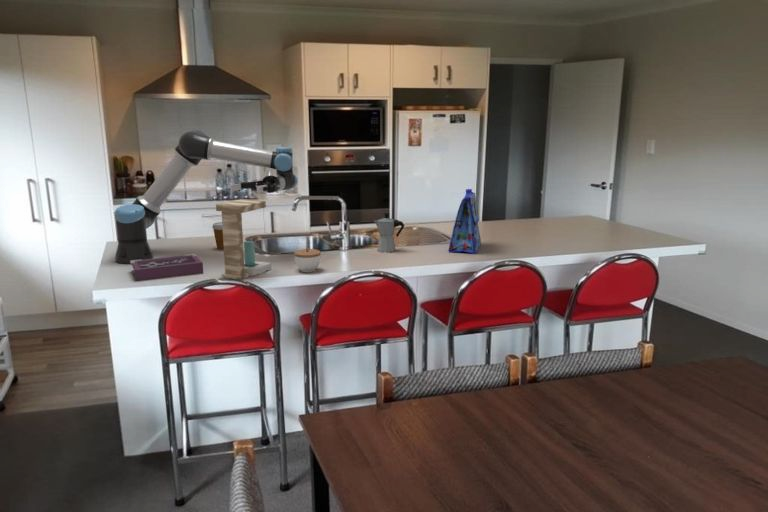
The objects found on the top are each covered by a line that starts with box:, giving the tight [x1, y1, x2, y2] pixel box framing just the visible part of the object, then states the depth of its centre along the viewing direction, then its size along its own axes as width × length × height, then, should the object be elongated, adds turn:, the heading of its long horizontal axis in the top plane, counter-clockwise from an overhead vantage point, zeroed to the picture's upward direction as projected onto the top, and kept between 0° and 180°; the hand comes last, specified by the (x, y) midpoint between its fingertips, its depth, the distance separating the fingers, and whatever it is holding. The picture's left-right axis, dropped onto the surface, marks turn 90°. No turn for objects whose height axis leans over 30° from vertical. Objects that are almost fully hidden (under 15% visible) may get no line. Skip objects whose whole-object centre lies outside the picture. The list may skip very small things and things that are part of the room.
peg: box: [243, 240, 256, 267], centre depth 235 cm, size 4×4×12 cm
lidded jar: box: [293, 247, 322, 273], centre depth 236 cm, size 11×11×9 cm
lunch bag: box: [448, 188, 482, 255], centre depth 275 cm, size 22×14×29 cm, turn 164°
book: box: [130, 253, 204, 282], centre depth 233 cm, size 25×16×5 cm, turn 118°
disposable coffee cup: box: [211, 221, 224, 251], centre depth 274 cm, size 10×10×12 cm
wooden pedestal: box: [215, 198, 267, 280], centre depth 229 cm, size 16×12×28 cm
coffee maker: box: [373, 212, 405, 254], centre depth 271 cm, size 15×9×18 cm, turn 73°
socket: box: [244, 260, 272, 277], centre depth 236 cm, size 12×12×2 cm
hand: (243, 189), depth 240 cm, fingers open, 13 cm apart
